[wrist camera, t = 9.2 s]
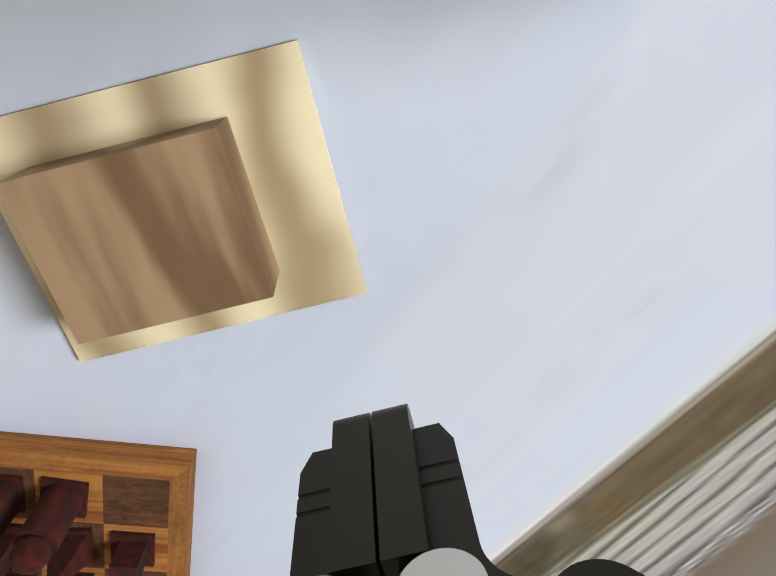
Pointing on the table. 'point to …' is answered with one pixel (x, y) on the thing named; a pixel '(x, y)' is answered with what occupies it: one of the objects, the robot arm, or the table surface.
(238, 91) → the board
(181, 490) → the gameboard
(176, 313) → the slab
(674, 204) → the table surface
